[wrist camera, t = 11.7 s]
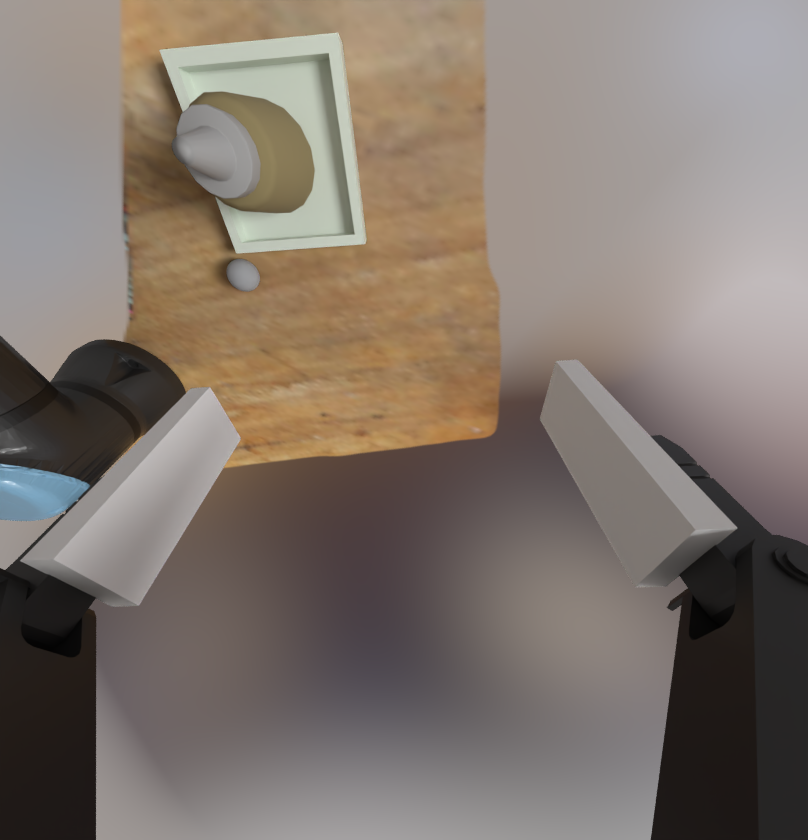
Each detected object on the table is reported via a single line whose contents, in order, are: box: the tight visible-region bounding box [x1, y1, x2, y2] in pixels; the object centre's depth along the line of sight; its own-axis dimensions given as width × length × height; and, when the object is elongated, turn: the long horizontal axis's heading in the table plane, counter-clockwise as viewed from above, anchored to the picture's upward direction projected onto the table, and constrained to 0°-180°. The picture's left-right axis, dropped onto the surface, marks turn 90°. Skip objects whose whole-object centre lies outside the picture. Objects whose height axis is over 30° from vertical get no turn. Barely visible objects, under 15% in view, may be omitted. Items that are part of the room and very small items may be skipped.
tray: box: [160, 33, 367, 253], centre depth 30 cm, size 15×15×2 cm
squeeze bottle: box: [172, 91, 315, 213], centre depth 23 cm, size 8×8×18 cm
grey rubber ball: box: [227, 259, 260, 291], centre depth 36 cm, size 4×4×4 cm
